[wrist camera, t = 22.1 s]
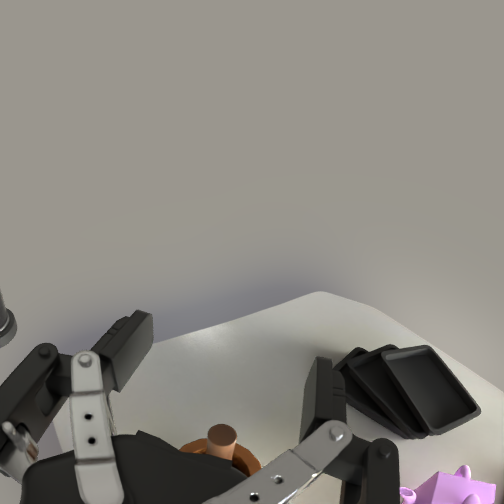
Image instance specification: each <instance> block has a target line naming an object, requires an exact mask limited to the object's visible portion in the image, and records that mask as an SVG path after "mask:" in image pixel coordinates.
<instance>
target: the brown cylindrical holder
mask: <svg viewBox="0 0 504 504" xmlns="http://www.w3.org/2000/svg"><path fill="white" fill-rule="evenodd" d="M179 450H180V451H182V452H189V453H199V454H206V450H207V438H206V439H198V440H196V441H193V442H191V443H188V444H186V445H184V446H183V447H182V448H181V449H179ZM232 461H233V462H232V465H231V466H232V467H234V468H236V469H237V470H239V471H241V472H242V473H243V474H244V475H246V476H247V477H248V478H249V477H250V476H252V475H253V474H255V473H256V472H257V471H259V470H260V469H262V468H261V465H260V462H259V461H258V460H257V459H256V458H255V457H254V455H253V454H252V453H251V452H250V451H249V450H248V449H246V448H244V447H242V446H241V445H239V444H237V443H236V444H235V448H234V452H233V456H232Z"/></svg>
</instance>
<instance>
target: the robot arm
mask: <svg viewBox="0 0 504 504" xmlns="http://www.w3.org/2000/svg"><path fill="white" fill-rule="evenodd" d="M152 319H153V318H152V314H150V313H147V312H143V311H140V310H136V311H135V312H134V313H133V314H132V315H131V316H130V317H127V316H125V317H123V318H121V319H119V320H117V321H116V322H115V323H114V325H113V326H112V327H111V328H110V329H109V330H108V331H107V333H105V334H104V335H103V336H102V337H101V339H100V340H99V341H98V342H97V343H96V344H95V345H94V346H93V347H92V348H91V350H83V351H79V352H77V353H76V354H75V355H74V356H71V355H65V354H60V353H58V350H57V348H56V346H54V345H53V344H51V343H42V344H39V345H38V346H36V347H35V348H34V349H33V350H32V351H31V352H30V353H29V354H28V356H27V357H26V358H25V359H24V360H23V361H22V362H21V363H20V364H19V365H18V366H17V368H16V369H15V370H14V371H13V372H12V373H11V374H10V375H9V377H8V378H7V379H6V380H5V381H4V382H3V384H2V385H1V386H0V472H1V473H2V474H3V475H4V476H7V477H12V478H13V479H14V480H16V481H17V482H18V483H20V484H21V485H22V494H21V500H20V504H289V503H291V502H292V501H293V500H294V499H295V498H296V497H297V496H298V495H300V494H301V493H302V492H303V491H304V490H305V489H307V488H308V487H309V486H310V485H311V484H312V483H313V482H314V481H316V480H317V479H318V478H319V477H320V476H321V475H322V474H323V473H325V474H328V475H330V476H333V477H335V478H338V479H341V480H342V486H341V495H340V503H339V504H400V475H399V454H398V448H397V446H396V445H395V444H394V443H393V442H392V441H390V440H388V439H385V438H379V439H376V440H374V441H372V442H369V441H366V440H363V439H361V438H359V437H357V436H355V435H354V434H352V431H351V429H350V428H349V426H348V425H347V419H346V397H345V396H346V394H345V380H344V378H343V376H342V374H341V372H340V371H335V370H332V359H329V358H324V357H318V356H316V357H315V360H314V362H313V365H312V367H311V370H310V372H309V374H308V377H307V380H306V383H305V388H304V398H303V409H302V419H301V428H300V437H299V445H298V446H296V447H295V448H294V449H292V450H291V449H289V450H287V451H285V452H284V453H282V454H281V455H280V456H278V457H277V458H276V459H274V460H273V461H272V462H270V463H269V464H267V465H266V466H265V467H263V468H262V469H260V470H259V471H257V472H256V473H255V474H253V475H252V476H250V477H249V478H248V477H247V476H246V475H244V474H243V473H242V472H241V471H239V470H237V469H236V468H234V467H232V466H231V465H232V462H233V461H232V460H228V459H224V458H220V457H217V456H213V455H209V454H199V453H189V452H182V451H180V450H178V449H176V448H175V447H173V446H171V445H170V444H168V443H167V442H165V441H163V440H162V439H160V438H158V437H155V436H153V435H150V434H148V433H145V432H143V431H140V430H138V431H137V433H136V435H128V434H125V435H118V434H117V431H116V427H115V422H114V418H113V413H112V407H111V402H110V396H109V393H110V392H111V390H115V391H117V392H119V393H120V392H121V390H122V389H123V387H124V386H125V384H126V383H127V381H128V380H129V379H130V377H131V376H132V374H133V373H134V371H135V370H136V368H137V367H138V366H139V364H140V363H141V361H142V360H143V358H144V357H145V356H146V354H147V353H148V351H149V350H150V348H151V346H152V343H153V320H152ZM8 324H9V315H8V313H7V310H6V307H5V304H4V301H3V297H2V293H1V290H0V333H2V332H3V331H4V330H5V329H6V328H7V326H8ZM68 397H69V405H70V418H71V429H72V438H73V446H74V450H72V451H69V452H66V453H63V454H60V455H57V456H53V457H50V458H47V459H43V460H39V461H37V458H38V457H37V456H38V452H39V451H38V446H37V443H38V441H39V440H40V438H41V437H42V435H43V434H44V432H45V430H46V429H47V428H48V426H49V425H50V423H51V422H52V420H53V419H54V417H55V416H56V414H57V413H58V411H59V410H60V408H61V407H62V406H63V404H64V403H65V401H66V400H67V398H68ZM36 461H37V462H36Z"/></svg>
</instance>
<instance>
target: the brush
mask: <svg viewBox="0 0 504 504" xmlns="http://www.w3.org/2000/svg"><path fill="white" fill-rule="evenodd" d="M236 440H237V434H236V431H235V430H234V429H233V428H232V427H230V426H228V425H225V424H217V425H214V426H213V427H211V428H210V429H209V431H208V437H207V450H206V454H209V455H213V456H217V457H220V458H224V459H228V460H232V456H233V452H234V448H235V444H236Z"/></svg>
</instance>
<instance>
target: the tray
mask: <svg viewBox="0 0 504 504" xmlns="http://www.w3.org/2000/svg"><path fill="white" fill-rule="evenodd" d="M332 370H335V371H340V372H341V374H342V376H343V378H344V380H345V394H346V396H345V397H346V403H348V404H349V405H351V406H352V407H354V408H356V409H357V410H359V411H360V412H362V413H363V414H365V415H367V416H368V417H370V418H371V419H373V420H375V421H376V422H378V423H379V424H381V425H383V426H384V427H386V428H388V429H389V430H391V431H393V432H394V433H396V434H398V435H399V436H401V437H403V438H405V439H417V438H418V439H423V438H425V437H426V436H428V435H430V436H433V435H441V434H443V433H445V432H447V431H450V430H452V429H454V428H456V427H458V426H460V425H462V424H464V423H466V422H468V421H469V420H471V419H473V418H475V417H477V416H479V415H480V414H481V409H480V407H479V406H478V404H477V403H476V402H475V400H474V399H473V398H472V397H471V395H470V394H469V393H468V391H467V390H466V389H465V388H464V386H463V385H462V384H461V382H460V381H459V380H458V379H457V377H456V376H455V375H454V374H453V373H452V371H451V370H450V369H449V368H448V366H447V365H446V364H445V363H444V362H443V360H442V359H441V358H440V357H439V356H438V354H437V353H436V352H435V351H434V350H433V349H432V348H431V347H430V346H428V345H421V346H415V347H408V348H402V349H399V348H397V347H396V346H395V345H392V344H389V345H386V346H383V347H381V348H378V349H376V350H373V351H371V352H368V351H367V350H365V349H363V348H360V347H357V348H355V349H353V350H352V351H351V352H350V353H349V354H348V355H347V356H346V357H345V358H344V359H343V360H342V361H340V362H339V363H338V364H337V365H336V366H335V367H334V368H333V369H332Z"/></svg>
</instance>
